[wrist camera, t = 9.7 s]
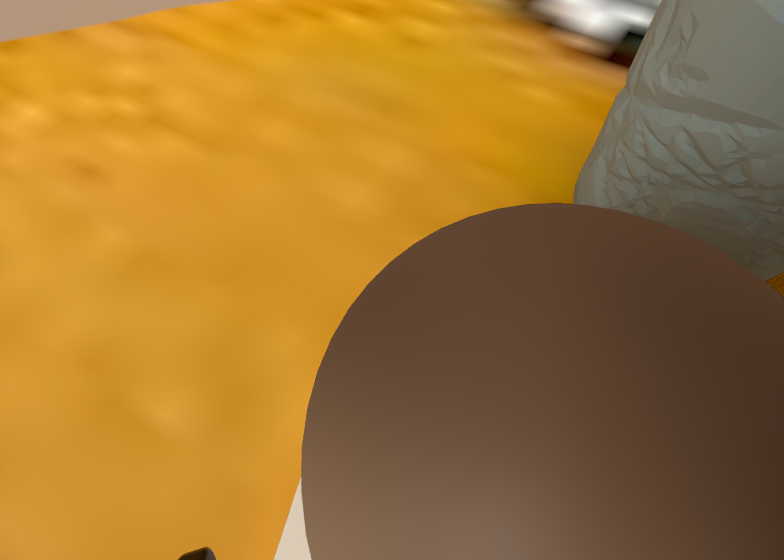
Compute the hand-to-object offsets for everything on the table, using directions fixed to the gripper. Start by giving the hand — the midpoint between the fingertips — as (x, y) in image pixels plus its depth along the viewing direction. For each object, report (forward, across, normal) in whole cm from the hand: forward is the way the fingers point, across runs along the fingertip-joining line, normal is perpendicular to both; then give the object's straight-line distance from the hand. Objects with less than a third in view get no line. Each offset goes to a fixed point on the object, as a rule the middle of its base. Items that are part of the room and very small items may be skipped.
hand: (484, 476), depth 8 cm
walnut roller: (+6, 0, +6) cm, 8 cm away
